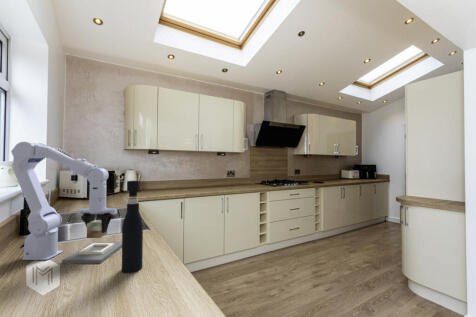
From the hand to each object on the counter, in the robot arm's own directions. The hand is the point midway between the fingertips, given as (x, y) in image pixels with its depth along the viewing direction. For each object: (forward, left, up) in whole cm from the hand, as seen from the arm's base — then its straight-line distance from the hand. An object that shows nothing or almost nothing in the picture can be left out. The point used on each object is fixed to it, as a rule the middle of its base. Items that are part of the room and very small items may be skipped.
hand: (97, 232), depth 89 cm
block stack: (0, 0, -2) cm, 2 cm away
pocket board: (0, 0, -8) cm, 8 cm away
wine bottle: (+20, -13, -8) cm, 25 cm away
